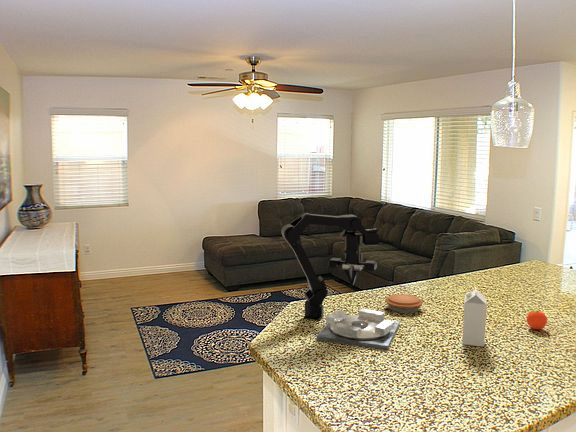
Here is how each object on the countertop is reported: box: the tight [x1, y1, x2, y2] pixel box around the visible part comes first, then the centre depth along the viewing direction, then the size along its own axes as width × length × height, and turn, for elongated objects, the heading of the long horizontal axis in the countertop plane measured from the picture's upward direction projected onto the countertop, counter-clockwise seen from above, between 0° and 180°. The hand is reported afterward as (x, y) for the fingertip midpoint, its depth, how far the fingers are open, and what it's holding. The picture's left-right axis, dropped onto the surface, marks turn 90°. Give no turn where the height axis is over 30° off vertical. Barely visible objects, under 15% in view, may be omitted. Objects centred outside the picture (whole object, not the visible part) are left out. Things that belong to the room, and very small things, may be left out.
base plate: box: [316, 314, 401, 351], centre depth 191 cm, size 25×25×2 cm
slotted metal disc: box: [325, 307, 396, 340], centre depth 191 cm, size 23×23×4 cm
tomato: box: [524, 309, 548, 330], centre depth 195 cm, size 8×7×7 cm
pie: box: [384, 293, 424, 314], centre depth 218 cm, size 16×16×5 cm
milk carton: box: [461, 287, 488, 348], centre depth 181 cm, size 7×7×19 cm
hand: (352, 285), depth 209 cm, fingers closed
